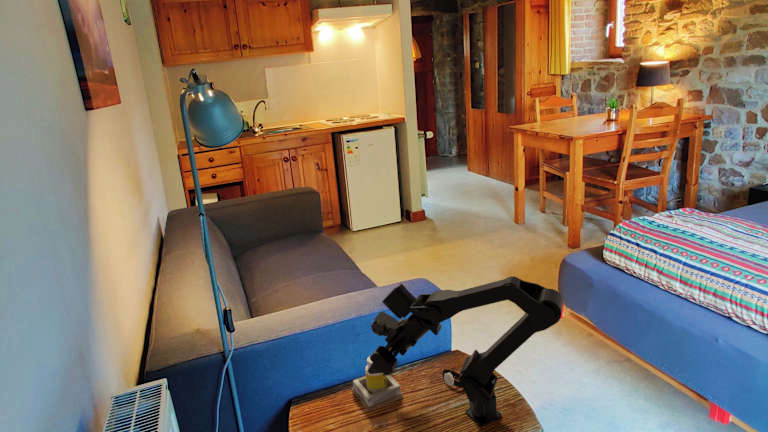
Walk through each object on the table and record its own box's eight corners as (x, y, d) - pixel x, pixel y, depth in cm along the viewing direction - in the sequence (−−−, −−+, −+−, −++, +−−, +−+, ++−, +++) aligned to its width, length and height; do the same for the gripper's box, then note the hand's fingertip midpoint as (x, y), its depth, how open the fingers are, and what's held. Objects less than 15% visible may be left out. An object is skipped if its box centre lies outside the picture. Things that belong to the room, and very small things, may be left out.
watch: (438, 379, 136) (437, 368, 135) (451, 373, 139) (450, 361, 138) (457, 392, 130) (456, 380, 129) (470, 385, 132) (469, 373, 132)
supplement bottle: (389, 395, 129) (385, 363, 127) (368, 399, 129) (364, 366, 126) (386, 383, 134) (383, 351, 132) (366, 386, 134) (362, 354, 131)
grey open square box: (402, 397, 130) (401, 385, 129) (368, 411, 125) (367, 399, 125) (384, 378, 138) (383, 367, 137) (352, 391, 134) (351, 380, 133)
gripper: (402, 290, 131) (369, 323, 138) (373, 323, 114) (337, 359, 122) (433, 320, 129) (397, 352, 137) (408, 358, 113) (369, 392, 121)
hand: (376, 362), depth 129 cm, fingers open, 9 cm apart
